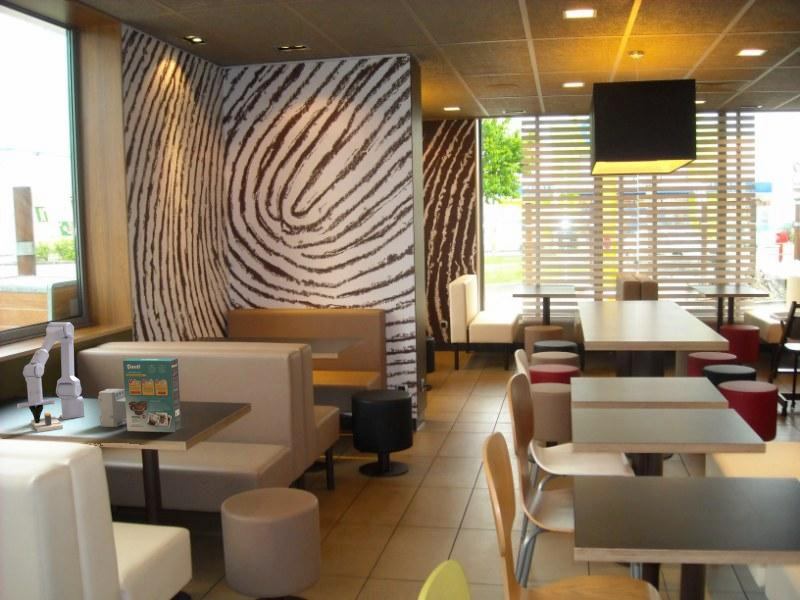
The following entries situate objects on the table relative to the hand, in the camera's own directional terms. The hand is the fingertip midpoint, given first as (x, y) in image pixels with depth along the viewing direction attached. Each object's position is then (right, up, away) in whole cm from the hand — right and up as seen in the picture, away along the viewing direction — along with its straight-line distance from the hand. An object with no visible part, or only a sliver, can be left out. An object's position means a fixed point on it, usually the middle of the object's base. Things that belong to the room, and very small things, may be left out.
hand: (37, 422), depth 366 cm
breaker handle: (+4, -1, +2) cm, 4 cm away
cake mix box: (+52, -2, -6) cm, 53 cm away
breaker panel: (+1, -2, +7) cm, 7 cm away
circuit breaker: (+34, -2, +5) cm, 34 cm away
